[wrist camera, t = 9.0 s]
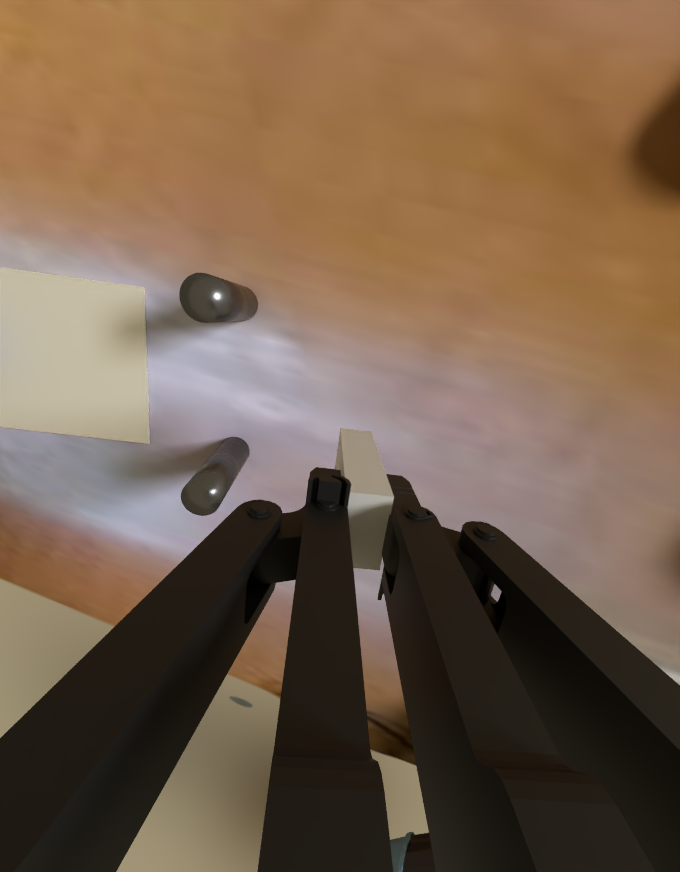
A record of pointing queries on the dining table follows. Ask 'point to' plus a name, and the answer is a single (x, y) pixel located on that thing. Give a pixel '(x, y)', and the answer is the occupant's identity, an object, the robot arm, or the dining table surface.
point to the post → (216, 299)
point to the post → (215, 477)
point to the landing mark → (73, 356)
